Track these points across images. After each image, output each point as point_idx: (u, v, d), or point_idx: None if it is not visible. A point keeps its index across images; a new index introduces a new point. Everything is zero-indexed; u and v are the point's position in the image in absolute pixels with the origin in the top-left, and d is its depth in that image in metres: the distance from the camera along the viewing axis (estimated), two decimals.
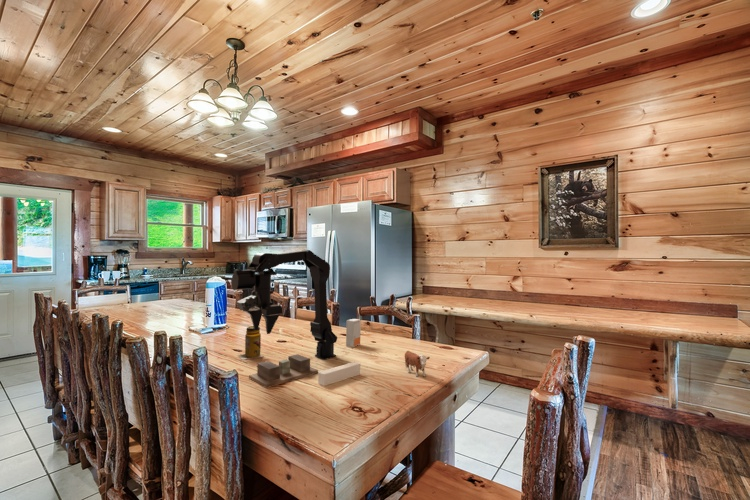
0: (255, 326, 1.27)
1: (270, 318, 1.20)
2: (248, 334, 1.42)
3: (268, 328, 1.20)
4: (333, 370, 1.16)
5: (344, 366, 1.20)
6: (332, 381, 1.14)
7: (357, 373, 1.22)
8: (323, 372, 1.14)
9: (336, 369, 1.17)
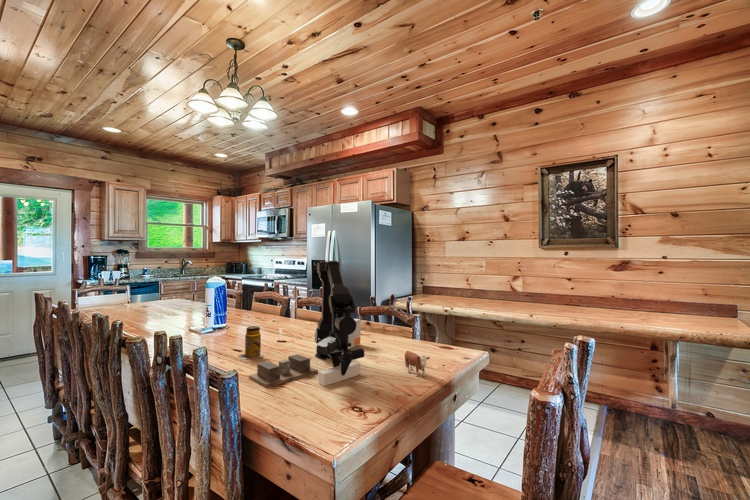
0: None
1: (345, 359, 1.17)
2: (248, 334, 1.42)
3: (343, 370, 1.17)
4: (333, 369, 1.16)
5: None
6: (332, 381, 1.14)
7: (357, 373, 1.22)
8: (323, 372, 1.14)
9: (336, 369, 1.17)
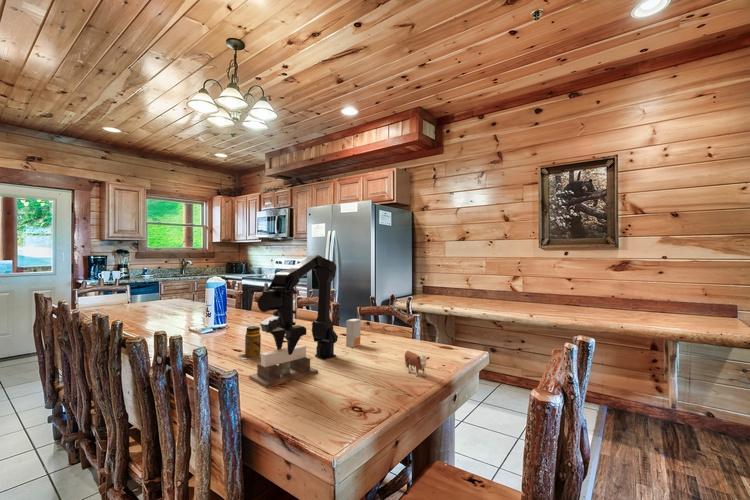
0: (278, 347, 1.24)
1: (292, 339, 1.18)
2: (248, 334, 1.42)
3: (290, 349, 1.18)
4: (276, 351, 1.19)
5: None
6: (274, 362, 1.17)
7: (302, 355, 1.25)
8: (265, 353, 1.17)
9: (279, 351, 1.19)
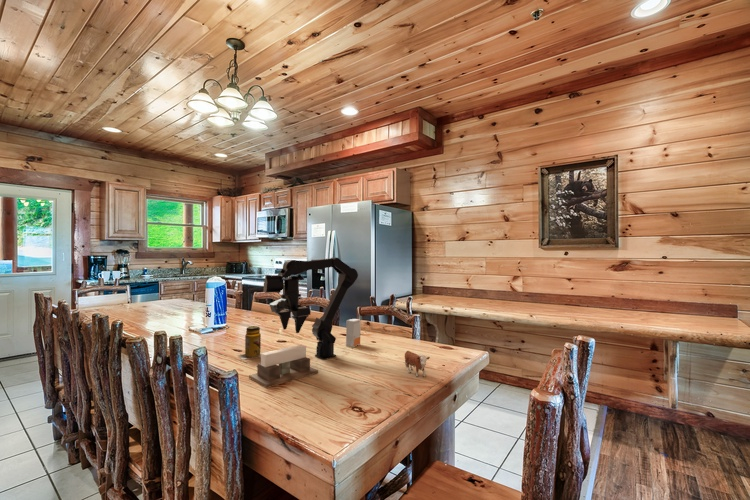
0: (284, 326, 1.40)
1: (299, 319, 1.33)
2: (248, 334, 1.42)
3: (297, 328, 1.33)
4: (276, 351, 1.19)
5: (289, 348, 1.23)
6: (274, 362, 1.17)
7: (302, 355, 1.25)
8: (265, 353, 1.17)
9: (279, 351, 1.19)
